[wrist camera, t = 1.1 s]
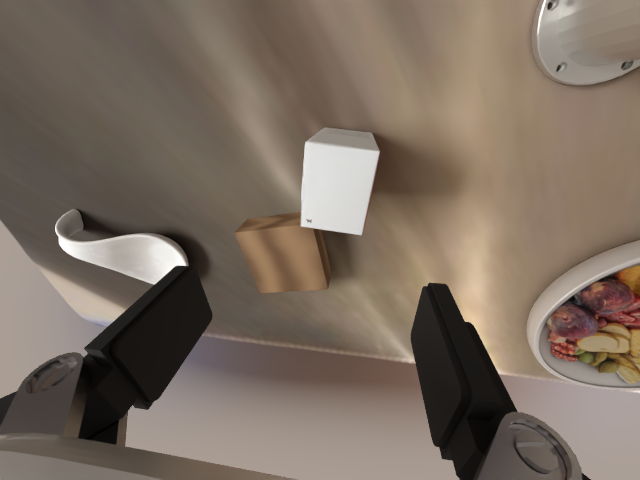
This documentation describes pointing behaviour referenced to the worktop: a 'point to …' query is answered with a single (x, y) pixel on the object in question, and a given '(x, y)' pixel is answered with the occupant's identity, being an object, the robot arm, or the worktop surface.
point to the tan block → (284, 254)
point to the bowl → (592, 322)
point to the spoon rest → (123, 250)
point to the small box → (338, 180)
